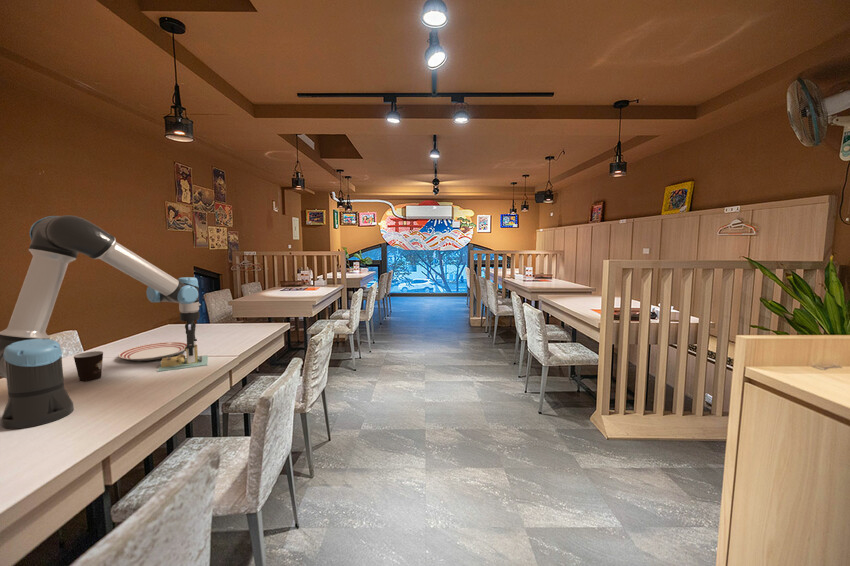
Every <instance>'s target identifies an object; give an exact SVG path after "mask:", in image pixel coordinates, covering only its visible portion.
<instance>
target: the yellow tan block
mask: <svg viewBox="0 0 850 566" xmlns="http://www.w3.org/2000/svg"><path fill="white" fill-rule="evenodd" d="M194 349H195V362H191V363H197V362H198V344H196V345H194ZM184 352H186V353H185V354H186V355H185V356H186V358H187V364H191V363H188V356H187V349H184Z"/></svg>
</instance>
